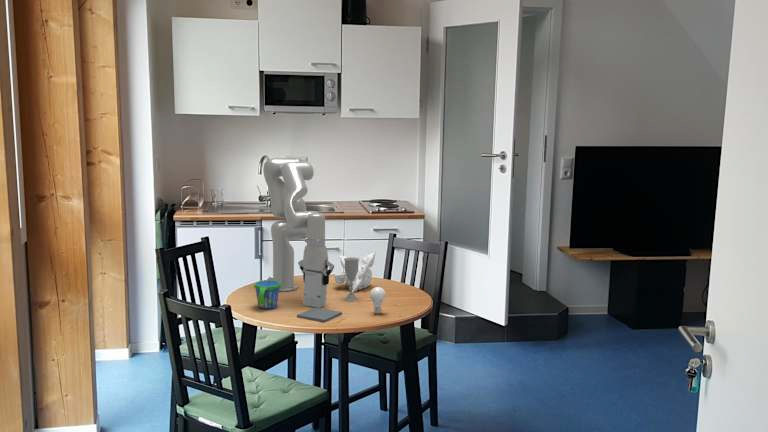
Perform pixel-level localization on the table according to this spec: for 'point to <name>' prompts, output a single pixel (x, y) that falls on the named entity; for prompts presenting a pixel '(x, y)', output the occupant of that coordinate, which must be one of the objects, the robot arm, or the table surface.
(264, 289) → the snack cup
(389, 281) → the table surface
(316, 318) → the charcoal mat
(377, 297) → the lightbulb
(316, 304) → the skincare box
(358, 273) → the white bumpy sculpture
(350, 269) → the chalice
